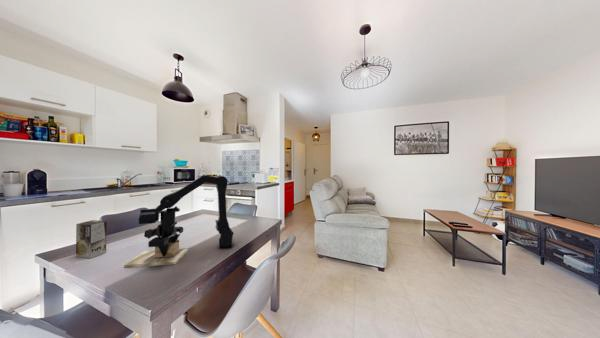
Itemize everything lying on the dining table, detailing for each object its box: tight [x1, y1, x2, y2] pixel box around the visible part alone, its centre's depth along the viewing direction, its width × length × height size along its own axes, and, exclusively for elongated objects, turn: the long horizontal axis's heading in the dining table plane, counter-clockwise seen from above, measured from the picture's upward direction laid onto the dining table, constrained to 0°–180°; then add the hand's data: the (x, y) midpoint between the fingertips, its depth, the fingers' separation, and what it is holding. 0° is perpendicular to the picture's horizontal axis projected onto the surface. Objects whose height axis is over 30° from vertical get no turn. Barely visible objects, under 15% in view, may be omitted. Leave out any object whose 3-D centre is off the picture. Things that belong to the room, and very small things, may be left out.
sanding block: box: [154, 242, 180, 259], centre depth 85 cm, size 8×5×5 cm, turn 101°
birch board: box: [123, 248, 189, 269], centre depth 84 cm, size 20×13×1 cm, turn 101°
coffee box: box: [75, 219, 108, 259], centre depth 86 cm, size 9×6×16 cm
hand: (167, 253), depth 85 cm, fingers closed on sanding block, 5 cm apart
